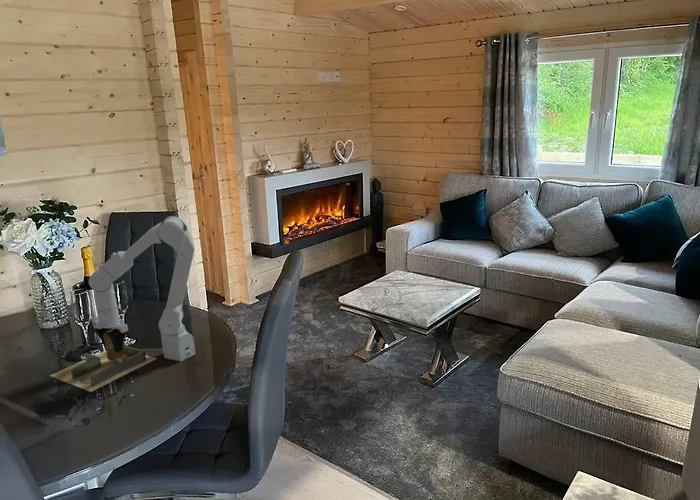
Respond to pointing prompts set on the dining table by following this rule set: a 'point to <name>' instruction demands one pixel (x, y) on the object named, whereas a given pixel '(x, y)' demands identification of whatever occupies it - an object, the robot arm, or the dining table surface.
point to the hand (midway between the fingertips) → (114, 349)
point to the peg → (111, 348)
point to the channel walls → (94, 363)
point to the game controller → (79, 352)
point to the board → (105, 363)
